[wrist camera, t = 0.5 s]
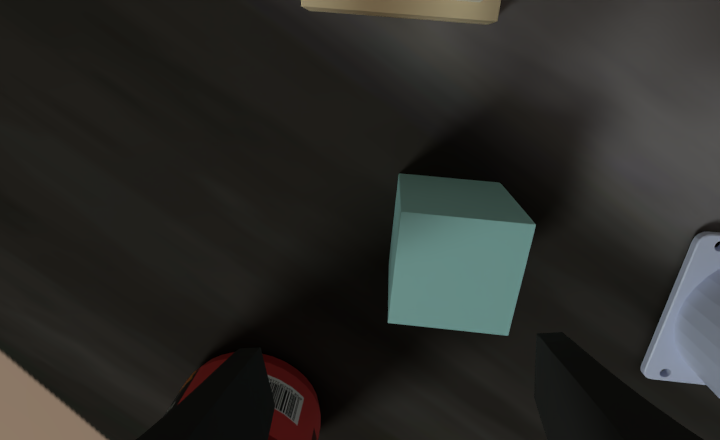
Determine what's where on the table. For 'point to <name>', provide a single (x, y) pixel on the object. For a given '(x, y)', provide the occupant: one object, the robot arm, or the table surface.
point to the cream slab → (471, 0)
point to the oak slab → (413, 9)
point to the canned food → (290, 393)
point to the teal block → (456, 254)
